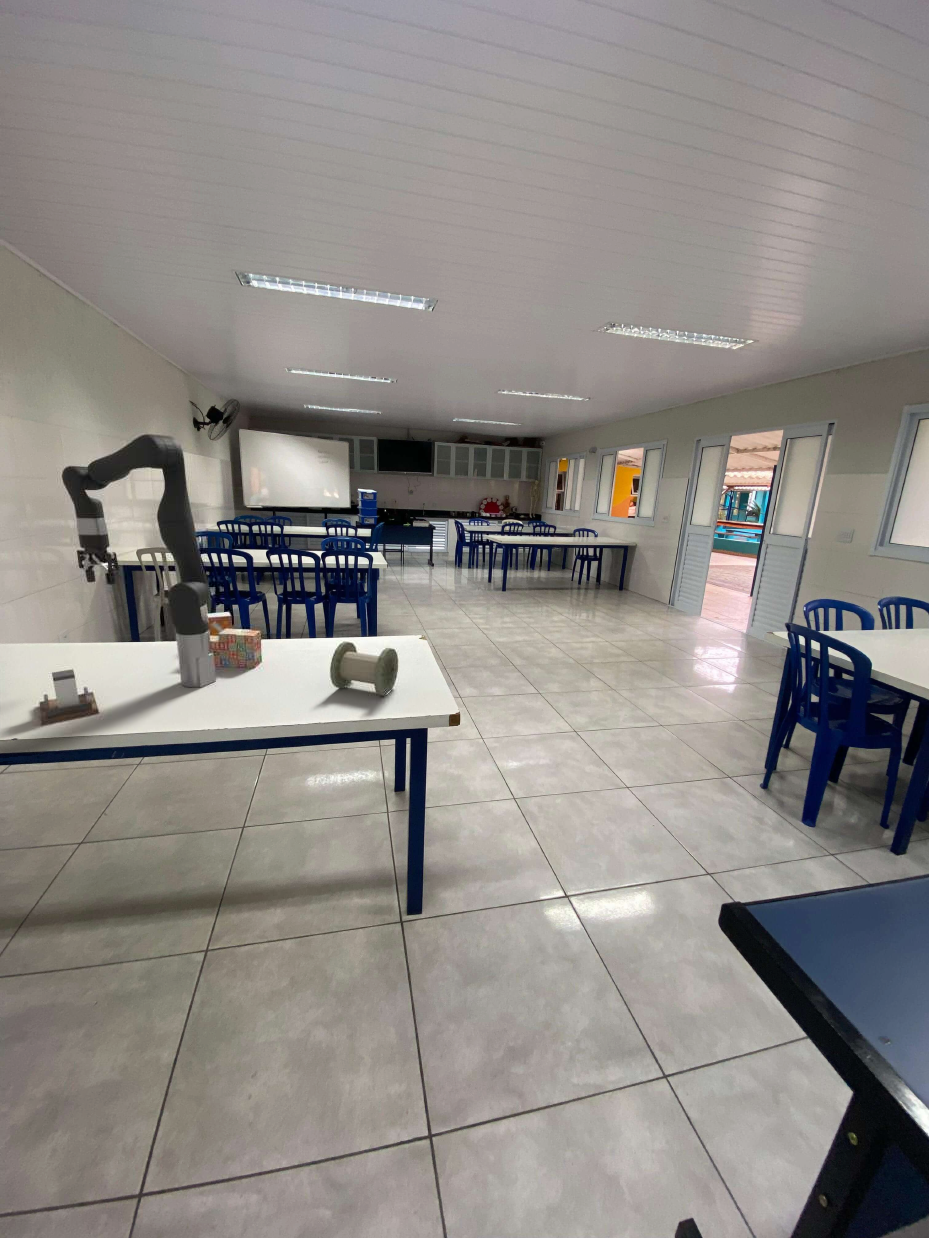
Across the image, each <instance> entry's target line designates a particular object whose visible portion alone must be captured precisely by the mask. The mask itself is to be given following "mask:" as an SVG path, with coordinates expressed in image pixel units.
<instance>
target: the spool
mask: <svg viewBox="0 0 929 1238" xmlns="http://www.w3.org/2000/svg"><path fill="white" fill-rule="evenodd" d="M329 671H330V672H329V673H330V674H329V675H330V676H329V678H330V680H331V684H332V685H333V686H334V687H335V688H337V689H345V688H346V687H348V686H349V685H350V684H351V683H352V681H353V682H359V683H365V684H371V685H374V689H375V692H376V693H377V695H378V696H384V697H385V695H386V694H387V693H388V692H389V691H390V690H391V689H392V690H393V688H394V687H395V683H396V680H397V677H398V671H399V656H398V652H397V651H396V650H395V648H391V647H385V648H384V649H383V650H382V651H381V653H380V654H379V655H374V654H367V653H361V652H358V651H357V647H356V646H355V644H354V643H353V642H350V641H349V642H348V641H343V642H341V643H339V644H338V646H337V647H336V648H335V650H334V653H333V655H332V658H331V662H330V667H329ZM349 683H350V684H349ZM348 684H349V685H348ZM347 685H348V686H347ZM345 686H346V687H345ZM344 687H345V688H344ZM392 690H391V691H392ZM387 695H388V694H387ZM387 695H386V696H387Z"/></svg>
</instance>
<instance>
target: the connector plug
mask: <svg viewBox="0 0 929 1238" xmlns="http://www.w3.org/2000/svg"><path fill="white" fill-rule="evenodd" d="M51 676H52V677H51V678H52V681H53V686H54V692H55V697H56V698H55V699H57V704H58V708H60V707H65V706H70V705H75V704H79V698H78V695H79V694H78V687H77V682H76V676H75V671H74V669H72V668H71V669H67V670H66V669H65V670H61V671H55V672H54V671H52V672H51Z"/></svg>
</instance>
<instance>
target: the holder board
mask: <svg viewBox="0 0 929 1238" xmlns="http://www.w3.org/2000/svg"><path fill="white" fill-rule="evenodd" d="M78 698H79V704H75V705H70V706H65V707H60V708H58V704H57V699H56V698H53V699H49V695H48V694H47V693H46V694H43V700H41V701H39V702H38V705H39V716H40V724H41V726H44V725H51V724H55V723H59V722H63V721H69V720H73V719H78V718H83V717H88V716H92V715H97V714H100V711H99V706H98V704H97V701H96V697H95V694H94V692H93V691H91V692H89V690H88V686H85V687H83V693H80V694H78Z"/></svg>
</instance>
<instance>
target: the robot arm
mask: <svg viewBox="0 0 929 1238" xmlns="http://www.w3.org/2000/svg"><path fill="white" fill-rule="evenodd" d="M184 455H185V454H184V452H183V448H182V446H181V444H180V442H179V440H178V439H176V438H174V437H173V436H170V435H163V434H162V435H161V434H149V433H146V434H142V435H140V436H138V437H136V438H134V439H133V440H131V441H130V442H128V444H126V445H124V446H122V448H120V449H118V450H117V451H115V452H113V453H111V454H108V455H106V456H103V457H100V458H98V459H95V460H93V461H91V462H90V463H89V464H88V466H81V465H80V466H79V465H68V466H66V467H64V468H63V470H62V472H61V473H62V474H61V478H62V484H63V485H64V487H65V490H67V493H68V495H69V497H70V499H71V501H72V503H73V507H74V511H75V518H76V529H77V536H78V540H79V547H80V548H81V549H77V550H76V556H77V563H78V568H79V569H82V570H83V571H84V572H85V577H86V582H87V583H95V582H96V575H95V574H96V573H95V570H94V569H95V567H96V566H99V568H100V569H101V568H102V569H103V571H104V575H105V580H106V584H107V585H108V586H109V585H115V584H116V578H115V573H116V571H117V572H118V571H120V567H119V563H118V557H117V553H116V552H115V551H110V552H108V549H107V548H110V544H111V543H110V538H109V533H108V525H107V522H106V520H105V518H106V517H105V514H104V513H105V512H104V507H103V503H102V501H101V500H100V499H97V498H95V497H94V498H93V497H90V496H89V495H88V494H87V493H88V492H87V491H99V490H104V489H105V488H106V487H107V486H108V485H110V484H111V483H114V482H117V481H120V480H122V479H124V478H126V477H127V476H129V474H130V473H131V472H132V471H133V470H137V469H147V468H148V469H157V470H158V469H159V470H161V471H162V475H163V481H164V490H163V494H162V497H161V499H160V502H159V505H158V508H157V512H156V519H157V524H158V528H159V532H160V538H161V540H162V542H163V544H164V546H165V547H166V548H167V550H168V551H169V553H170V555H171V556H172V557H173V559H174V561H175V563H176V565H177V567H178V573H179V579H180V582H178V583H176V584H175V583H174V584H173V585H172V586H171V587H170V588H169V590H168V596H167V600H168V607H169V614H170V620H171V623H172V625H173V627H174V629H175V635H176V636H175V638H176V647H177V655H178V657H177V658H178V664H179V665H178V666H179V672H180V673H179V675H180V683H181V686H183V687H186V688H203V687H205V686H207V685H209V684H212V683H214V682H216V681H217V676H216V674H217V673H216V666H215V661H214V654H213V653H211V644H210V633H209V623H208V621H207V619H204V618H203V615H202V611H201V608H202V607H204V606H206V605H207V604H208V603H209V601H210V599H211V589H210V585H209V581H208V580H207V575H206V573H205V570H204V567H203V562H202V559H201V558H202V557H201V553H200V547H199V544H198V539H197V533H196V532H197V531H196V527H195V522H194V518H193V514H192V509H191V504H190V503H191V502H190V498H189V492H188V485H187V476H186V465H185V456H184ZM113 565H114V566H113Z"/></svg>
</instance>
